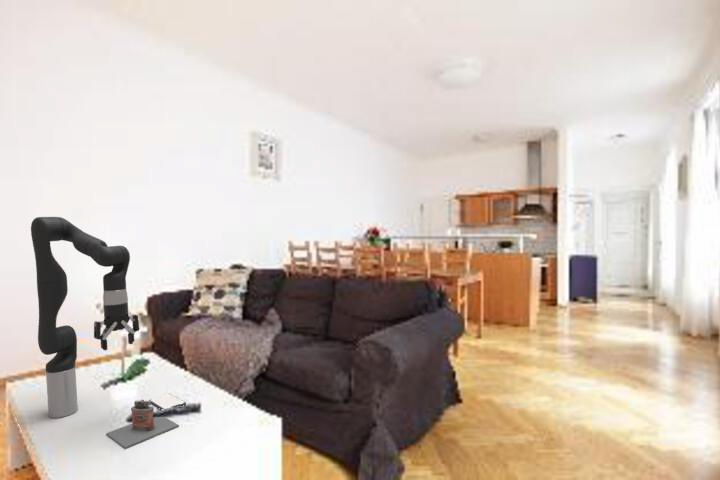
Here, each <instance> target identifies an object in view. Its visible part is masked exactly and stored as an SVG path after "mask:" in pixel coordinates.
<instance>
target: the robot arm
mask: <svg viewBox="0 0 720 480" xmlns="http://www.w3.org/2000/svg"><path fill="white" fill-rule="evenodd" d="M30 224H31V225H30V235H31V242H32V247H33V251H34V259H35V267H36V269H35V270H36V289H37V291H36V292H37V300H38V329H37V342H38V343H37V344H38V348H39V350H40V352H41V353H42V354H43V355H47V356H49V355H54V354H55V355H54V356H53V358H51V359H50V360H49V361H48V362H47V363H46V364H45V377H46V378H45V379H46V394H47V408H48V409H47V411H48V413H47V414H48V418H50V419H57V418H63V417H68V416H70V415H73V414H74V413H77V412H78V410H79V409H78V408H79V405H78V390H77V374H76V373H77V372H76V361H77V358H78V338H77V333H76V331H75V329H74V328H73V326H70V325H67V324H66V325H61V326H57V318H58V314H59V311H60V310H61V307H62V306H63V304H64V302H65V301H66V298H67V295H68V291H69V289H68V278H67V277H68V276H67V273H66V272H65V270H64V269H63V267H62V266H61V264H60V263H59V262H58V261H57V259H56V258H55V257H54V255H53V252H52V246H51V242H60V241H65V242H70V243H72V246H73V247H74V249H75V250H76V251H77V252H79V253H81V254H83V255H85V256H87V257H90V258H91V259H92V260H93V261H94V262H95V263H96V264H97V265H98V266H101V267H104V268H109V267H112V269H111V271H110V272H107V273H105V274H104V275H103V277H102V283H103V285H102V286H103V287H102V288H103V293H102V301H103V302H102V303H103V316H104V317H103V320H102V321H97V320H95V321H94V323H93V338H94V339H96V340H100V348H101V349H102V350H103V351H108V339H107V338H108V337H109V335H111V333H112V332H116V331H122V330H126V331H127V341H128V344H129V345H133V344H134V342H135V333H136V332H139V331H140V323H139V315H137V314H135V313H134V314H132V315H129V297H128V292H127V291H128V290H127V281H126V280H127V273H128V269H129V266H130V261H131V255H130V251H129V249H128V248H127V247H125V246H124V245H111V246H109V245H108V243H106V241H104V240H103V239H101V238H98V237H95V236H93V235H91V234H88V233H87V232H85V231H83V230H82V229H80V228H79V227H77V226H76V225H74V224H73V223H71V222H70V221H69V220H68V219H66V218H64V217H60V216H38V217H35V218H34V219H32V222H31V223H30ZM129 321H131V322H132V327H131V326H130V325H129V324H128V323H129ZM103 325H104V326H105V327H104V329H103V330H102V331H101V328H102V327H103Z"/></svg>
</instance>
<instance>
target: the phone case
mask: <svg viewBox="0 0 720 480" xmlns="http://www.w3.org/2000/svg"><path fill="white" fill-rule="evenodd" d="M148 401H151V406H152V407H154V408H156V407H157V408H156V409H158V408H160V409H166V408H171V407H177V406H183V405H186V406H187V403H186V401H184V400H182V399H181V398H180V397H177V396H175V395H173V394H172V393H165V394H162V395H159V396H155V397H152V398H150V399H149V400H148Z"/></svg>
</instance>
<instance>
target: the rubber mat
mask: <svg viewBox="0 0 720 480" xmlns="http://www.w3.org/2000/svg"><path fill="white" fill-rule="evenodd" d="M153 419H154V427H155V428H154V430H152V431H136V430H132V426H133V424H132V423H130V424H128V425H124V426H122V427H119V428H115V429H114V430H112V431H109V432H105V433H106V434H105V435H106V436H107V437H108V438H109V439H111V440H112V441H114V443H116V444H118V445H119V446H120V447H121V448H123V449H124V450H126V449H129V448H132V447H134V446H136V445H138V444H141V443H143V442H146V441H148V440H151V439H153V438H156V437H158V436H161V435H163V434H166V433H168V432H170V431H172V430H175V429H177V428H179V427H180V424H178V423H176V422H174V421H173V420H170V419H169V418H167V417H166V416H164V417H158V418H153ZM162 433H163V434H162ZM157 435H158V436H157ZM155 436H156V437H155ZM150 438H151V439H150Z"/></svg>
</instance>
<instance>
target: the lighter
mask: <svg viewBox="0 0 720 480" xmlns="http://www.w3.org/2000/svg"><path fill="white" fill-rule="evenodd" d="M133 405H134V406H132V407H131V409H130V411H131V419H132V420H131V421H132V423H131V424H133V426H132V430H136V431H152V430H154V428H155V427H154V419H153V415H154V408H155V406H153V405H152V404H151V401H149V400H144V399H139V400H134V404H133Z"/></svg>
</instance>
